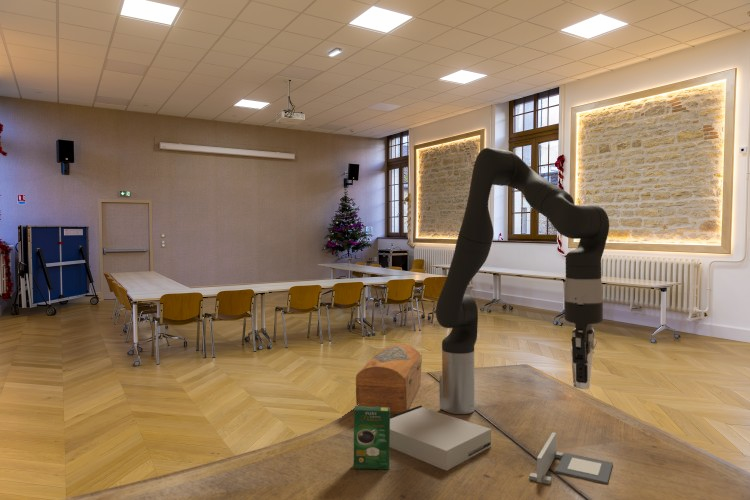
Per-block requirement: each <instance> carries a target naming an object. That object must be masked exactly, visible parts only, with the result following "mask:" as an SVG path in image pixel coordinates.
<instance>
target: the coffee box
mask: <svg viewBox="0 0 750 500" xmlns="http://www.w3.org/2000/svg"><path fill="white" fill-rule="evenodd" d="M353 411H354V413H353V469H354V470H355V469H357V470H382V471H383V470H390V448H391V447H390V416H391V414H390V407H367V406H357V405H355V406H354V410H353Z"/></svg>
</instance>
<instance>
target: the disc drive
mask: <svg viewBox="0 0 750 500" xmlns="http://www.w3.org/2000/svg"><path fill="white" fill-rule="evenodd" d="M491 447H492V428H490V427H487V426H483V425H479V424H477V423H473V422H470V421H468V420H464V419H460V418H457V417H453V416H451V415H447V414H444V413H442V412H439V411H435V410H433V409H432V410H431V409H428V408H426V407H423V406H422V405H418V406H415V407H413V408H409V410H407V411H404V412H401V413H398V414H392V415H390V448H391V449H393V450H395V451H398V452H400V453H403V454H406V455H407V456H409V457H412V458H415V459H417V460H420V461H422V462H425V463H427V464H429V465H432V466H434V467H436V468H439V469H441V470H443V471H449V470H451V469H453V468H454V467H456V466H458V465H460V464H462V463H464V462H466V461H468V460H470V459H471V458H473V457H475V456H476V455H478V454H480V453H482V452H485V450H488V449H489V448H491Z"/></svg>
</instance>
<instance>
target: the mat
mask: <svg viewBox="0 0 750 500" xmlns="http://www.w3.org/2000/svg"><path fill="white" fill-rule="evenodd" d="M612 468H613V462H612V461H608V460H602V459H597V458H594V457H593V458H592V457H588V456H582V455H578V454H573V453H568V452H563V457H562V459H560V461H559V463H558V464H557V467H556V469H555V473H557V474H560V475H565V476H570V477H574V478H577V479H578V478H579V479H582V480H587V481H592V482H596V483H600V484H604V485H608V484H609V480H610V476H611V474H612V473H611V472H612Z"/></svg>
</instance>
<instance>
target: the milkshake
mask: <svg viewBox="0 0 750 500" xmlns="http://www.w3.org/2000/svg"><path fill="white" fill-rule="evenodd" d="M597 343H598V340H596V342H595V343H594V348H593V349H592V348H591V353H590V354H589V355H588V362H589V363H588V381H587V383H580V382H577V381H576V364H575V363H573V351H572V346H570V347H569V348H570V358H571V369H572V370H571V371H572V383H573V388H575V389H579V390H589V389H590V387H591V378H592V367H593V365H592V364H593V357H594V356H593V355H594V353H593V351H594V349H595V347H596V346H597ZM586 350H587V349H586ZM578 358H583V355H581V354H578Z"/></svg>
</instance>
